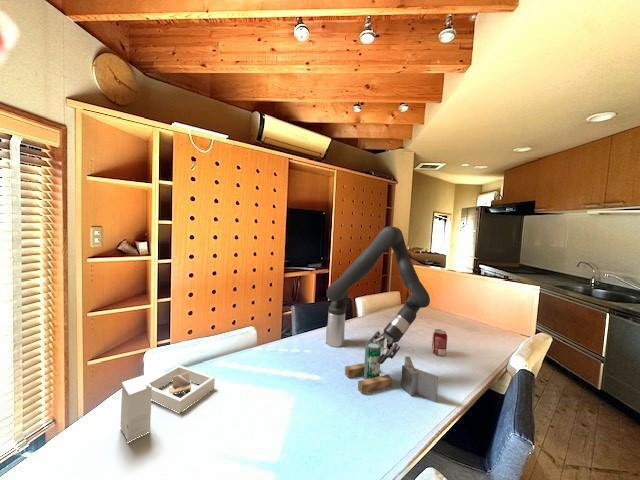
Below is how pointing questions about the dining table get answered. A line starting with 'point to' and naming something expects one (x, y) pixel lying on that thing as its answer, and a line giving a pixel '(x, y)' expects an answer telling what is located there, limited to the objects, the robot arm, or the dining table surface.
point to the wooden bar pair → (370, 383)
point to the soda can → (439, 342)
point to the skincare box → (136, 407)
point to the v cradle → (418, 381)
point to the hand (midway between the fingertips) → (373, 357)
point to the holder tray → (182, 403)
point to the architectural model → (180, 384)
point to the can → (372, 360)
